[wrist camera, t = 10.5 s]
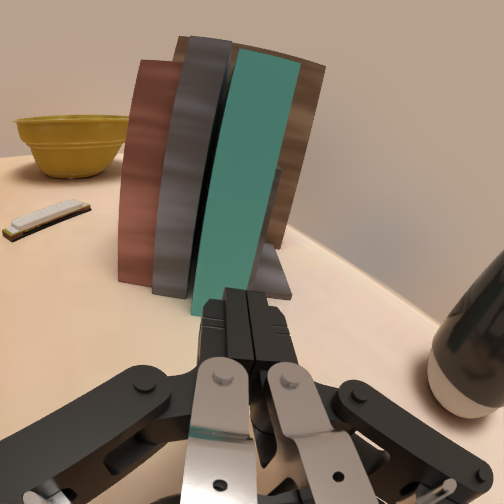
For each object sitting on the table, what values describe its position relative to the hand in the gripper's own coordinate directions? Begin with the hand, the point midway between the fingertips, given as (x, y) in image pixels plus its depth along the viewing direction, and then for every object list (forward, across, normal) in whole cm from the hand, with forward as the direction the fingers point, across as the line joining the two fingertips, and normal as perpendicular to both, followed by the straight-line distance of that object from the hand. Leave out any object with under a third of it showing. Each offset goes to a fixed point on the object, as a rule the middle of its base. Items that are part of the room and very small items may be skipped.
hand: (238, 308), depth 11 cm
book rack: (+19, 0, +9) cm, 21 cm away
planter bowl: (+52, +35, +9) cm, 63 cm away
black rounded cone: (0, -21, +8) cm, 22 cm away
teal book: (+18, 0, +8) cm, 20 cm away
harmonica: (+23, +23, +9) cm, 34 cm away
